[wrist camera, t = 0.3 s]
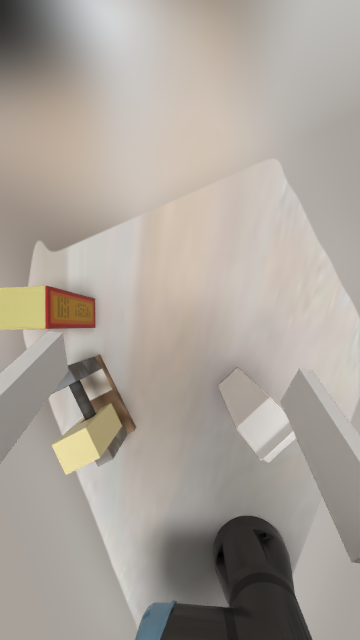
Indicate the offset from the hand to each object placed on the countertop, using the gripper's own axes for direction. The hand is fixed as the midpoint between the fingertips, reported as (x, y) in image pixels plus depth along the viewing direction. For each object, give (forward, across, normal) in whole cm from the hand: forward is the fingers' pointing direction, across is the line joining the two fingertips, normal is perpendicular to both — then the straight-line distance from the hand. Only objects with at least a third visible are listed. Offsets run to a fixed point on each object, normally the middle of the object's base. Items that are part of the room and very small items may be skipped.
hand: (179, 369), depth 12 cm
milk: (+24, -15, +25) cm, 38 cm away
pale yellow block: (+17, +12, +32) cm, 38 cm away
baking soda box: (+32, +23, +18) cm, 44 cm away
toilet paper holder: (+22, +13, +32) cm, 41 cm away
